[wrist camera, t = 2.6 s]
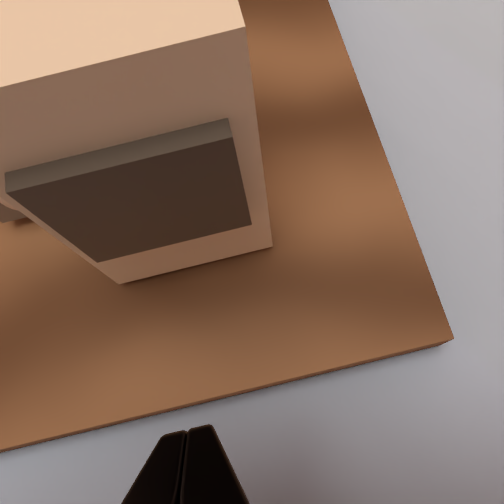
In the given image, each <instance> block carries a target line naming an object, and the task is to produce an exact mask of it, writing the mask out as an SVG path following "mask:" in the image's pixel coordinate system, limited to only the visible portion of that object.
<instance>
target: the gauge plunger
mask: <svg viewBox="0 0 504 504" xmlns="http://www.w3.org/2000/svg"><path fill="white" fill-rule="evenodd" d="M25 217H28V218H29V219H31V220H32V221H33V222H35V223H36V224H37V225H39V226H40V227H42V228H43V229H44V230H46V231H47V232H48V233H50V234H51V235H52V236H54V237H55V238H56V239H58V240H59V241H61V242H62V243H63V244H65V245H66V246H67V247H69V248H70V249H71V250H73V251H74V252H75V253H77V254H78V255H80V256H81V257H82V258H84V259H85V260H86V261H88V262H89V263H90V264H92V265H93V266H94V267H96V268H97V269H99V270H100V271H101V272H103V273H104V274H105V275H107V276H108V277H109V278H111V279H112V280H113V281H115V282H116V283H118V284H122V283H126V282H130V281H134V280H138V279H142V278H147V277H151V276H155V275H159V274H163V273H167V272H171V271H175V270H179V269H183V268H187V267H191V266H195V265H199V264H203V263H208V262H212V261H216V260H220V259H224V258H228V257H232V256H236V255H240V254H244V253H248V252H252V251H256V250H260V249H265V248H269V247H273V244H272V236H271V228H270V220H269V212H268V204H267V196H266V188H265V180H264V172H263V164H262V156H261V148H260V139H259V131H258V123H257V115H256V107H255V99H254V91H253V83H252V75H251V67H250V59H249V51H248V43H247V35H246V27H245V23H244V20H243V16H242V13H241V9H240V6H239V2H238V0H0V222H2V223H5V222H9V221H13V220H17V219H21V218H25Z"/></svg>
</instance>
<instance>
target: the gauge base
mask: <svg viewBox="0 0 504 504" xmlns="http://www.w3.org/2000/svg"><path fill="white" fill-rule="evenodd" d="M238 2H239V6H240V9H241V13H242V16H243V20H244V23H245V27H246V35H247V43H248V51H249V59H250V67H251V75H252V83H253V91H254V99H255V107H256V115H257V123H258V131H259V139H260V148H261V156H262V164H263V172H264V180H265V188H266V196H267V204H268V212H269V220H270V228H271V236H272V244H273V247H269V248H265V249H260V250H256V251H252V252H248V253H244V254H240V255H236V256H232V257H228V258H224V259H220V260H216V261H212V262H208V263H203V264H199V265H195V266H191V267H187V268H183V269H179V270H175V271H171V272H167V273H163V274H159V275H155V276H151V277H147V278H142V279H138V280H134V281H130V282H126V283H122V284H118V283H116V282H115V281H113V280H112V279H111V278H109V277H108V276H107V275H105V274H104V273H103V272H101V271H100V270H99V269H97V268H96V267H94V266H93V265H92V264H90V263H89V262H88V261H86V260H85V259H84V258H82V257H81V256H80V255H78V254H77V253H75V252H74V251H73V250H71V249H70V248H69V247H67V246H66V245H65V244H63V243H62V242H61V241H59V240H58V239H56V238H55V237H54V236H52V235H51V234H50V233H48V232H47V231H46V230H44V229H43V228H42V227H40V226H39V225H37V224H36V223H35V222H33V221H32V220H31V219H29V218H28V217H25V218H21V219H17V220H13V221H9V222H5V223H2V222H0V453H1V452H5V451H10V450H14V449H18V448H22V447H26V446H30V445H34V444H38V443H42V442H46V441H50V440H55V439H59V438H63V437H67V436H71V435H75V434H79V433H83V432H87V431H91V430H95V429H100V428H104V427H108V426H112V425H116V424H120V423H124V422H128V421H132V420H136V419H140V418H145V417H149V416H153V415H157V414H161V413H165V412H169V411H173V410H177V409H181V408H185V407H190V406H194V405H198V404H202V403H206V402H210V401H214V400H218V399H222V398H226V397H230V396H234V395H239V394H243V393H247V392H251V391H255V390H259V389H263V388H267V387H271V386H275V385H279V384H284V383H288V382H292V381H296V380H300V379H304V378H308V377H312V376H316V375H320V374H324V373H329V372H333V371H337V370H341V369H345V368H349V367H353V366H357V365H361V364H365V363H369V362H374V361H378V360H382V359H386V358H390V357H394V356H398V355H402V354H406V353H410V352H414V351H419V350H423V349H427V348H431V347H435V346H439V345H441V344H444V343H446V342H448V341H450V340H452V339H454V337H453V334H452V331H451V329H450V326H449V323H448V321H447V318H446V315H445V312H444V310H443V307H442V304H441V302H440V299H439V296H438V294H437V291H436V288H435V286H434V283H433V280H432V278H431V275H430V272H429V270H428V267H427V264H426V262H425V259H424V256H423V254H422V251H421V248H420V246H419V243H418V240H417V238H416V235H415V232H414V230H413V227H412V224H411V221H410V219H409V216H408V213H407V211H406V208H405V205H404V203H403V200H402V197H401V195H400V192H399V189H398V187H397V184H396V181H395V179H394V176H393V173H392V171H391V168H390V165H389V163H388V160H387V157H386V155H385V152H384V149H383V147H382V144H381V141H380V139H379V136H378V133H377V130H376V128H375V125H374V122H373V120H372V117H371V114H370V112H369V109H368V106H367V104H366V101H365V98H364V96H363V93H362V90H361V88H360V85H359V82H358V80H357V77H356V74H355V72H354V69H353V66H352V64H351V61H350V58H349V56H348V53H347V50H346V48H345V45H344V42H343V39H342V37H341V34H340V31H339V29H338V26H337V23H336V21H335V18H334V15H333V13H332V10H331V7H330V5H329V2H328V0H238Z"/></svg>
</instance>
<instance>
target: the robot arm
mask: <svg viewBox="0 0 504 504" xmlns="http://www.w3.org/2000/svg"><path fill="white" fill-rule="evenodd" d="M121 504H249V501H248V499H247V497H246V495H245V493H244V491H243V489H242V487H241V485H240V482H239V480H238V478H237V476H236V474H235V472H234V470H233V468H232V465H231V463H230V461H229V459H228V457H227V455H226V453H225V451H224V448H223V446H222V444H221V442H220V440H219V438H218V436H217V434H216V431H215V429H214V427H213V426H212V425H210V424H208V425H204V426H199V427H195V428H191V429H190V430H189V431H188V432H187V431H184V430H182V431H178V432H174V433H169V434H165V435H163V436H162V437H161V438H160V440H159V441H158V443H157V445H156V446H155V448H154V450H153V451H152V453H151V455H150V456H149V458H148V460H147V461H146V463H145V465H144V466H143V468H142V470H141V471H140V473H139V475H138V476H137V478H136V480H135V482H134V483H133V485H132V487H131V488H130V490H129V492H128V493H127V495H126V497H125V498H124V500H123V502H122V503H121Z"/></svg>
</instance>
